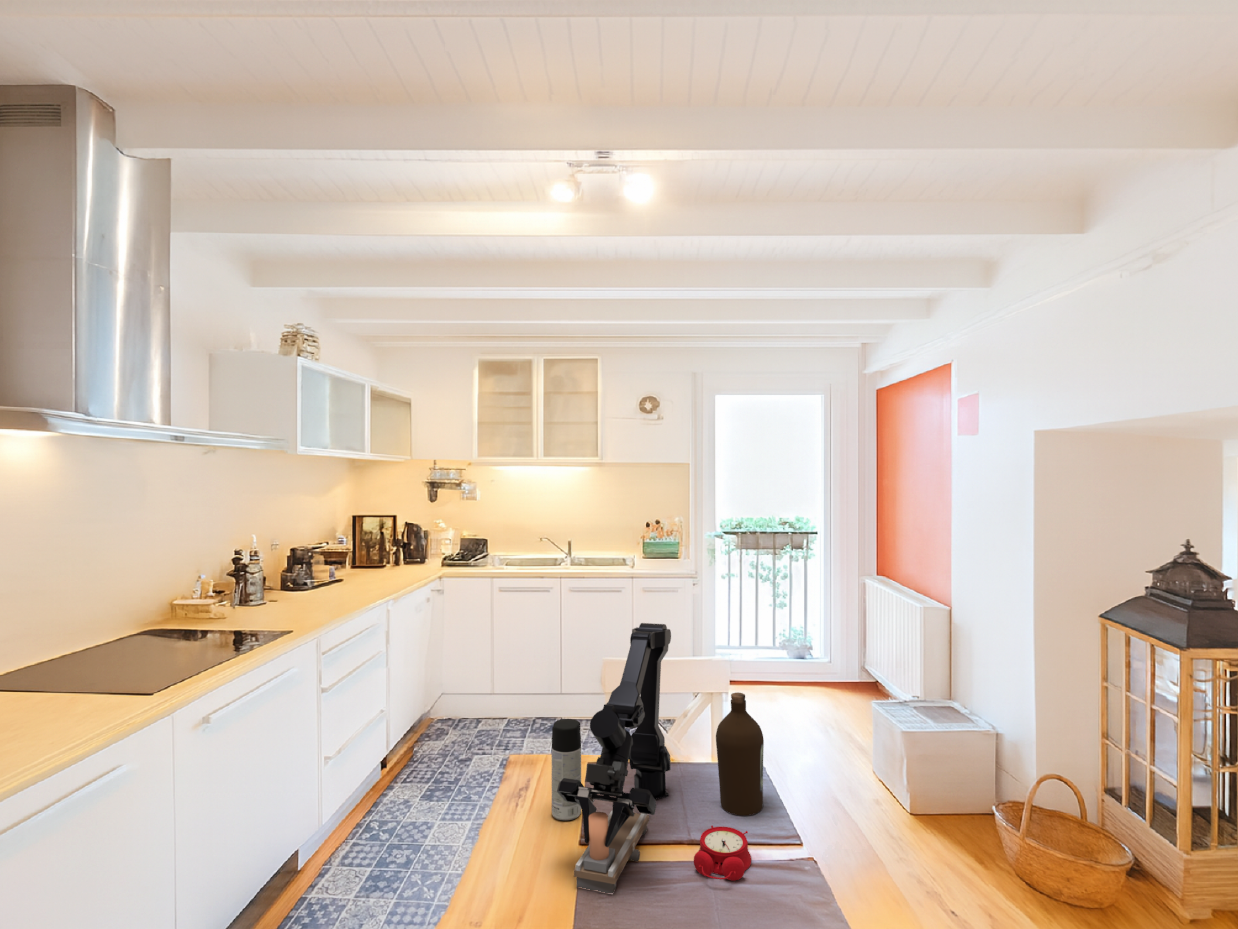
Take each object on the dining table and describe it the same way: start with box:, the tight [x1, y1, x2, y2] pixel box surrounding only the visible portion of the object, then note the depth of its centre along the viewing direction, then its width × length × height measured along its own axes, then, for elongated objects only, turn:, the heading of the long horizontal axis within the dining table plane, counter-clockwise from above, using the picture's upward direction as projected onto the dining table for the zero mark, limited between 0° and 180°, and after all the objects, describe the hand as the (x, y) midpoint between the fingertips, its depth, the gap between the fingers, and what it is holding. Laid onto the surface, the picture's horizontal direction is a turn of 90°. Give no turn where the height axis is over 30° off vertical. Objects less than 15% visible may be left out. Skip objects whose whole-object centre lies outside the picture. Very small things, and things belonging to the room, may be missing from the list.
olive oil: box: [715, 692, 765, 817], centre depth 147 cm, size 11×11×25 cm
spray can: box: [551, 718, 582, 821], centre depth 146 cm, size 7×7×20 cm
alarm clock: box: [693, 825, 752, 882], centre depth 126 cm, size 10×6×15 cm
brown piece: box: [573, 808, 650, 894], centre depth 129 cm, size 22×10×4 cm, turn 161°
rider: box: [583, 811, 615, 873], centre depth 122 cm, size 5×4×9 cm
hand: (596, 845), depth 121 cm, fingers closed on rider, 4 cm apart
